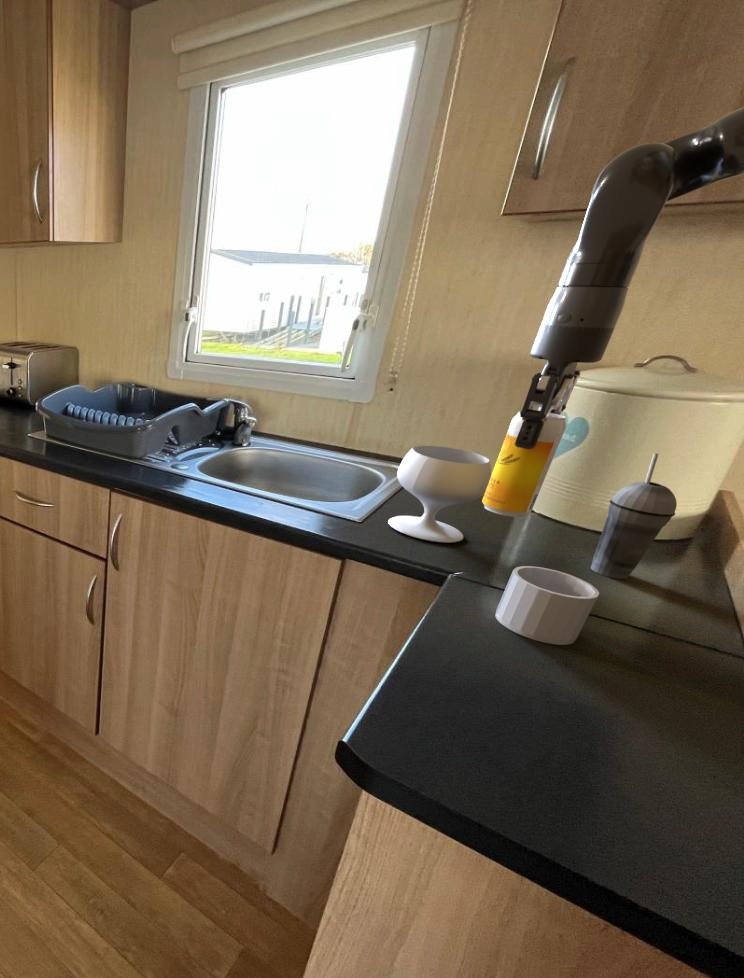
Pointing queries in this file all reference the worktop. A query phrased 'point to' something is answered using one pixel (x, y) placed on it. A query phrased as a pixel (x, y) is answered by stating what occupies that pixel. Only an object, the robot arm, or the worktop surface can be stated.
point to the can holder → (546, 604)
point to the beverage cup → (632, 525)
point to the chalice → (440, 488)
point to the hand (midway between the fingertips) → (530, 444)
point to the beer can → (522, 468)
